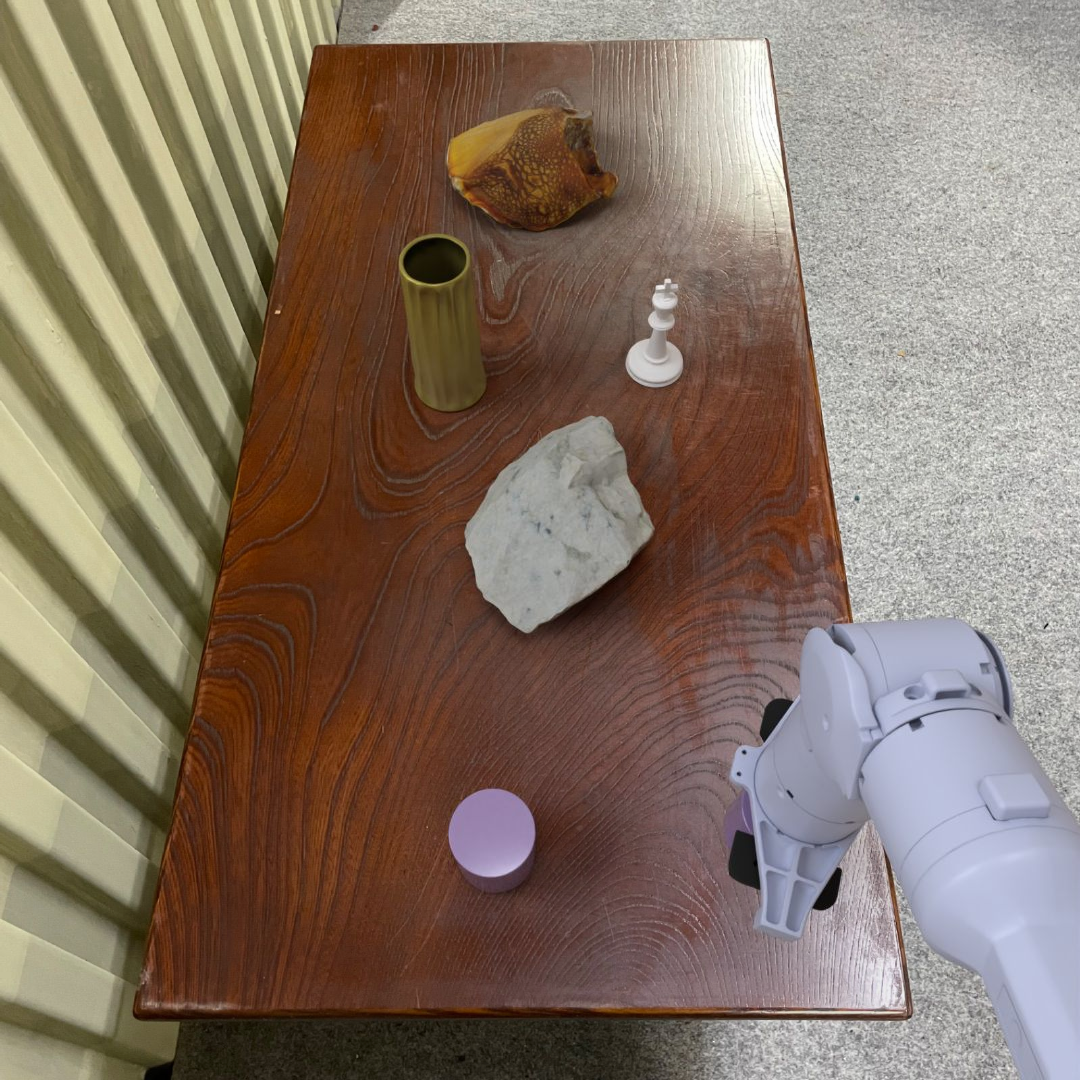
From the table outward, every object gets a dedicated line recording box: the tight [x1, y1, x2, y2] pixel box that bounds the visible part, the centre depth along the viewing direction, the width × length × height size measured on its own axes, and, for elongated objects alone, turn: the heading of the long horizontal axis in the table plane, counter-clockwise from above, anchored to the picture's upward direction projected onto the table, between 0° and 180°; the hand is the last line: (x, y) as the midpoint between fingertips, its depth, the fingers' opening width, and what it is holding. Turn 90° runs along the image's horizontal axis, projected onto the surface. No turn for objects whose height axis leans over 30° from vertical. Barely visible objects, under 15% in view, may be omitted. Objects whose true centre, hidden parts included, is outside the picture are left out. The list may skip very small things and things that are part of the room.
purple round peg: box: [722, 788, 754, 853], centre depth 54 cm, size 5×5×6 cm
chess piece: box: [625, 278, 684, 388], centre depth 76 cm, size 5×5×10 cm
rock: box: [464, 415, 656, 635], centre depth 69 cm, size 15×16×8 cm
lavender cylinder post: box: [448, 788, 537, 894], centre depth 59 cm, size 5×5×6 cm
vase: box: [398, 233, 488, 413], centre depth 74 cm, size 6×6×14 cm
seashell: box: [445, 104, 620, 232], centre depth 89 cm, size 17×8×15 cm
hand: (772, 825), depth 56 cm, fingers closed on purple round peg, 5 cm apart
